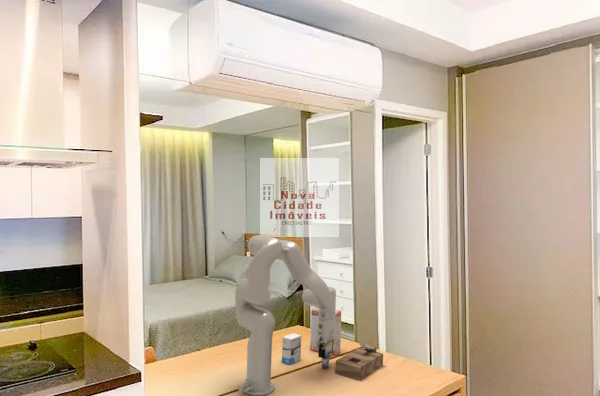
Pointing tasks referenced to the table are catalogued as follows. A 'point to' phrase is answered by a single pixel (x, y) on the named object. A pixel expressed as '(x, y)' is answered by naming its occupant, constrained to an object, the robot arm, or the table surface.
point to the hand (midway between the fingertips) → (325, 355)
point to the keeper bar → (366, 346)
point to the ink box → (291, 348)
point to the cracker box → (314, 331)
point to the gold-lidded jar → (327, 355)
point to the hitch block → (359, 363)
